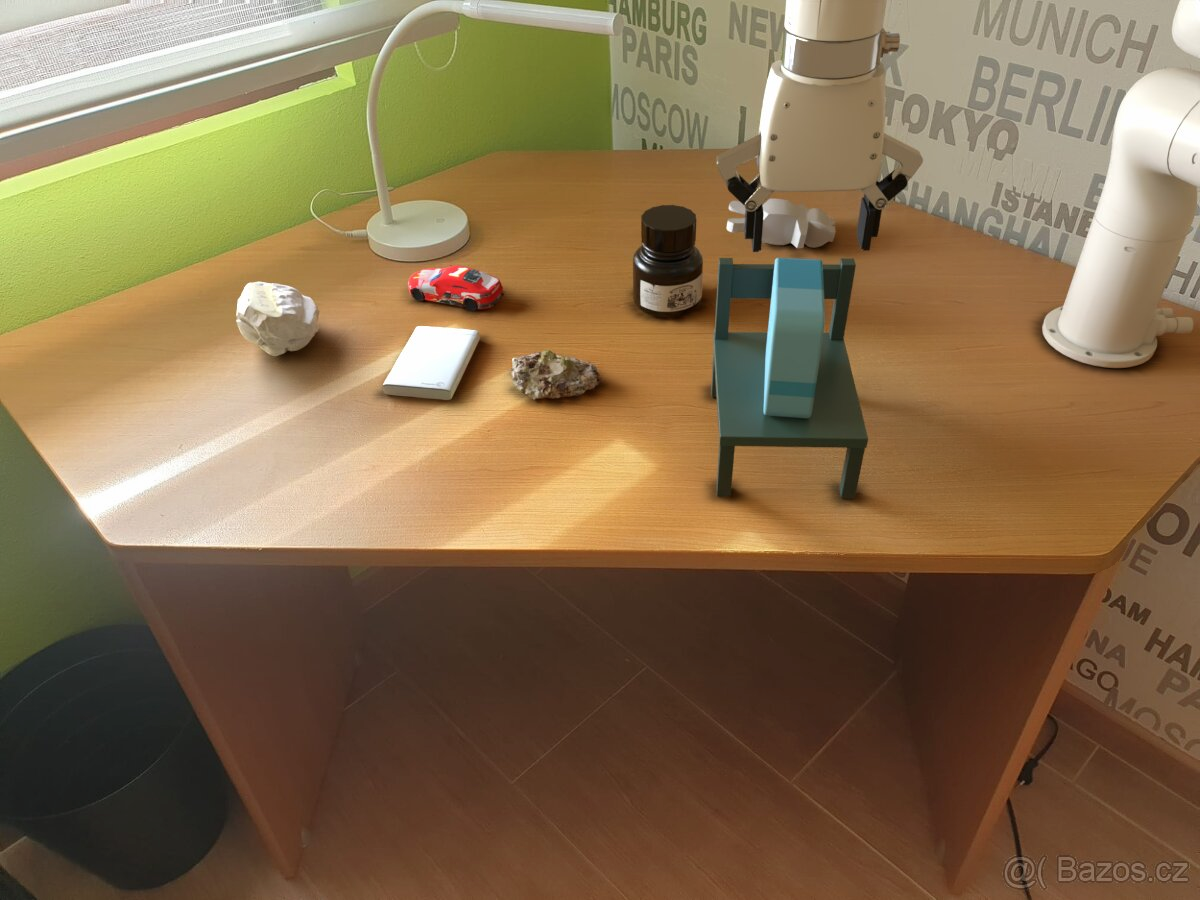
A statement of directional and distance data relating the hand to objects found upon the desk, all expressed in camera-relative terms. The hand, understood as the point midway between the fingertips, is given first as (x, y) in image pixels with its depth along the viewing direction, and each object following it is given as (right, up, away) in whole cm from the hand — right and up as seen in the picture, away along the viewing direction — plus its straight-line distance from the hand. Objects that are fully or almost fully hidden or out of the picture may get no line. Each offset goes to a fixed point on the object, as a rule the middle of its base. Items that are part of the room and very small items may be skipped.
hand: (808, 243), depth 87 cm
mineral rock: (-24, -11, +25) cm, 37 cm away
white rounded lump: (-59, -5, +33) cm, 68 cm away
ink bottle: (-10, +1, +38) cm, 39 cm away
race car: (-38, +1, +40) cm, 56 cm away
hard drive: (-39, -9, +28) cm, 49 cm away
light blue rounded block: (0, -13, +10) cm, 16 cm away
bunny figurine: (+7, +11, +50) cm, 52 cm away
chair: (0, -18, +16) cm, 24 cm away
